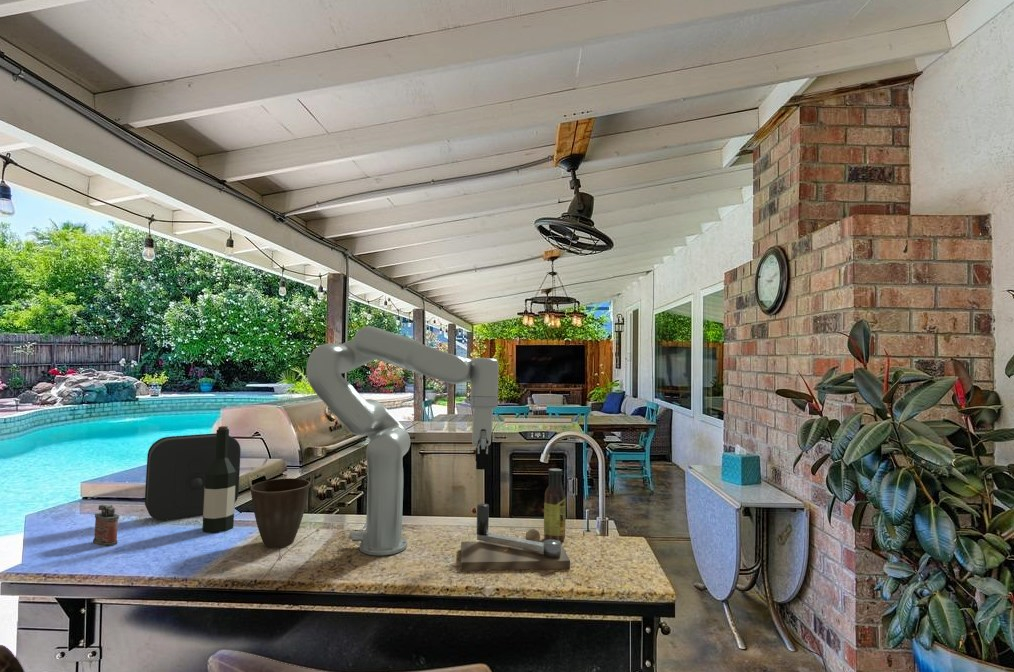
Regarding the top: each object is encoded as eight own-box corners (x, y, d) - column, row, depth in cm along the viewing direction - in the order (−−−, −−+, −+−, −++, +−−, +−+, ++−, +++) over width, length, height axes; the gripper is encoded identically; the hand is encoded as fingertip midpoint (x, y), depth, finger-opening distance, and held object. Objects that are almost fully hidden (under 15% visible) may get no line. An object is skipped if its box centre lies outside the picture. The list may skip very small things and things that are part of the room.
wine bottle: (239, 527, 149) (244, 426, 150) (210, 535, 142) (216, 429, 143) (224, 522, 153) (229, 424, 155) (195, 529, 146) (201, 427, 148)
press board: (460, 570, 121) (461, 545, 121) (461, 549, 135) (461, 526, 135) (570, 568, 123) (570, 544, 124) (559, 547, 137) (559, 525, 137)
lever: (563, 553, 127) (563, 514, 128) (557, 559, 123) (557, 519, 124) (480, 537, 137) (481, 502, 138) (473, 542, 133) (473, 506, 134)
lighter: (120, 543, 134) (123, 506, 135) (106, 547, 131) (108, 509, 132) (104, 538, 138) (106, 502, 138) (89, 542, 135) (91, 505, 135)
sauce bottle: (564, 543, 140) (565, 472, 141) (542, 541, 142) (543, 471, 143) (566, 536, 147) (567, 468, 148) (545, 534, 148) (546, 466, 149)
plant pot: (284, 556, 127) (287, 493, 128) (234, 550, 131) (237, 489, 132) (318, 537, 142) (320, 480, 143) (273, 532, 145) (275, 476, 146)
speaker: (232, 504, 172) (236, 431, 173) (238, 510, 165) (242, 434, 167) (143, 518, 155) (148, 437, 157) (146, 525, 149) (151, 441, 150)
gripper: (470, 399, 145) (467, 459, 144) (470, 404, 128) (467, 472, 127) (495, 400, 146) (493, 459, 145) (499, 405, 129) (497, 472, 128)
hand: (481, 465), depth 136 cm, fingers open, 9 cm apart
